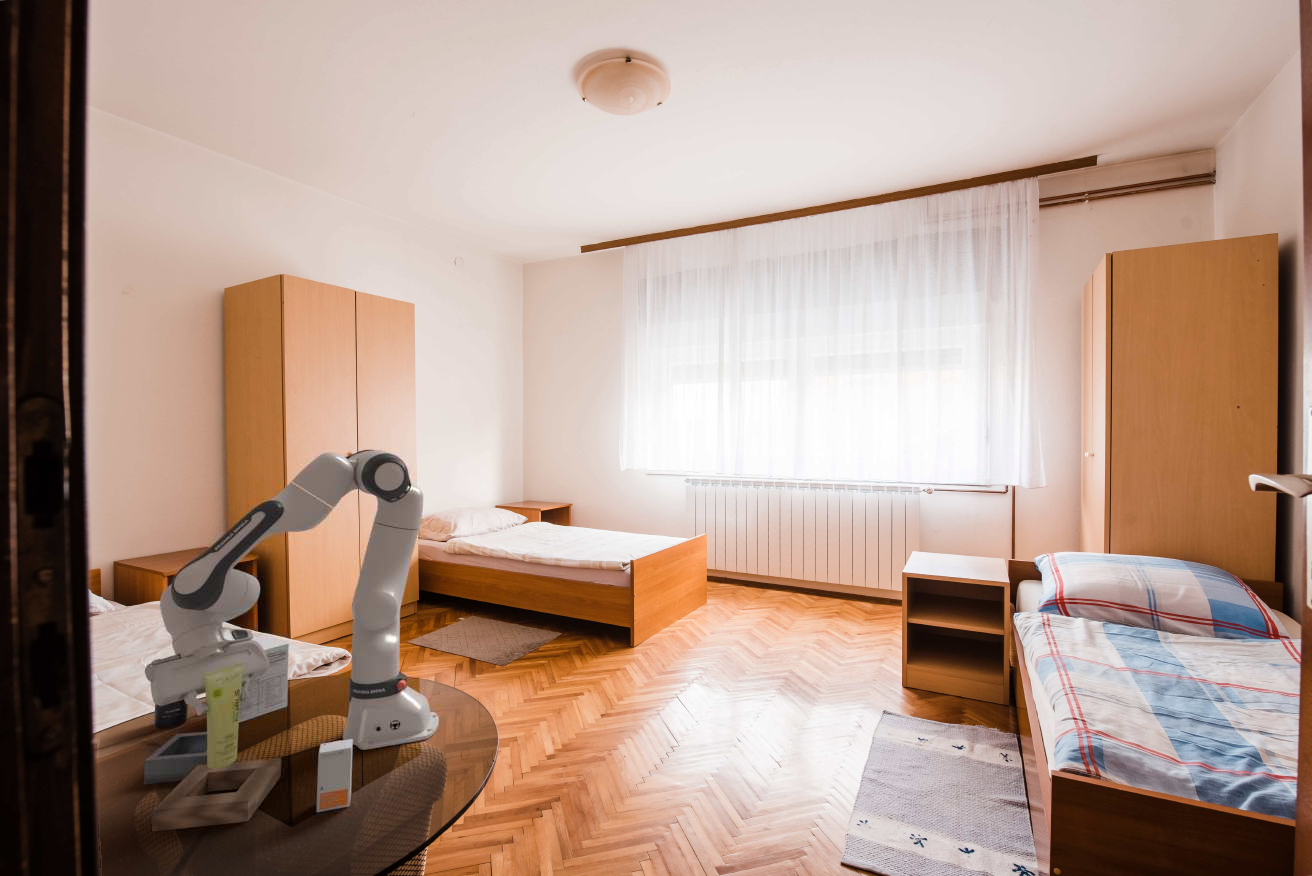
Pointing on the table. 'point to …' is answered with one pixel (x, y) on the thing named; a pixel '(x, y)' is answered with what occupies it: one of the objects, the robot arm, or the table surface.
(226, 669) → the tube
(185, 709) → the supplement bottle
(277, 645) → the supplement box
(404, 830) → the table surface
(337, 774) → the skincare box
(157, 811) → the walnut socket block
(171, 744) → the graphite collar stand
